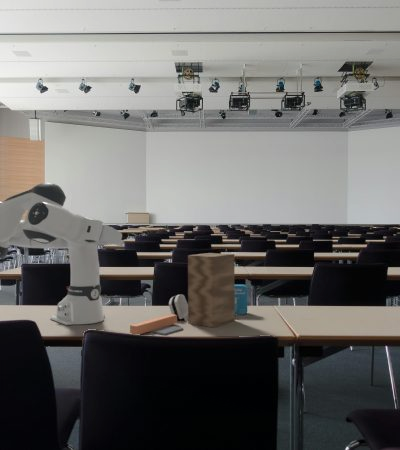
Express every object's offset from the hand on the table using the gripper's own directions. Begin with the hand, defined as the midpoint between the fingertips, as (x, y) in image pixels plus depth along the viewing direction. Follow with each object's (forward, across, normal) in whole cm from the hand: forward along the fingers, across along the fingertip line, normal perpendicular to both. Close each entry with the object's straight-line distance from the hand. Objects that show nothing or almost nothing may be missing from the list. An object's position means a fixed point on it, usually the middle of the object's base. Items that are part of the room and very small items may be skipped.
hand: (112, 243), depth 154 cm
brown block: (+49, +10, -16) cm, 53 cm away
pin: (+28, +1, -23) cm, 36 cm away
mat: (+29, +2, -23) cm, 37 cm away
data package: (+66, +7, -10) cm, 67 cm away
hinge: (+49, -6, -16) cm, 52 cm away
